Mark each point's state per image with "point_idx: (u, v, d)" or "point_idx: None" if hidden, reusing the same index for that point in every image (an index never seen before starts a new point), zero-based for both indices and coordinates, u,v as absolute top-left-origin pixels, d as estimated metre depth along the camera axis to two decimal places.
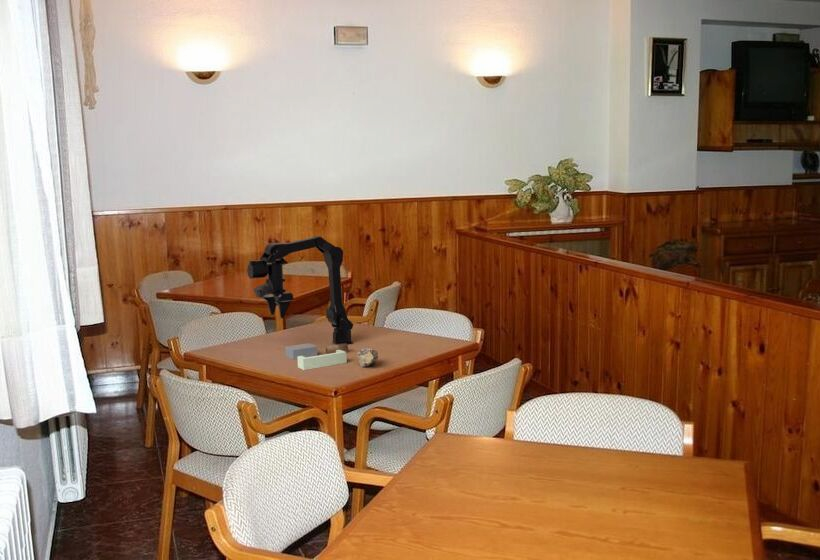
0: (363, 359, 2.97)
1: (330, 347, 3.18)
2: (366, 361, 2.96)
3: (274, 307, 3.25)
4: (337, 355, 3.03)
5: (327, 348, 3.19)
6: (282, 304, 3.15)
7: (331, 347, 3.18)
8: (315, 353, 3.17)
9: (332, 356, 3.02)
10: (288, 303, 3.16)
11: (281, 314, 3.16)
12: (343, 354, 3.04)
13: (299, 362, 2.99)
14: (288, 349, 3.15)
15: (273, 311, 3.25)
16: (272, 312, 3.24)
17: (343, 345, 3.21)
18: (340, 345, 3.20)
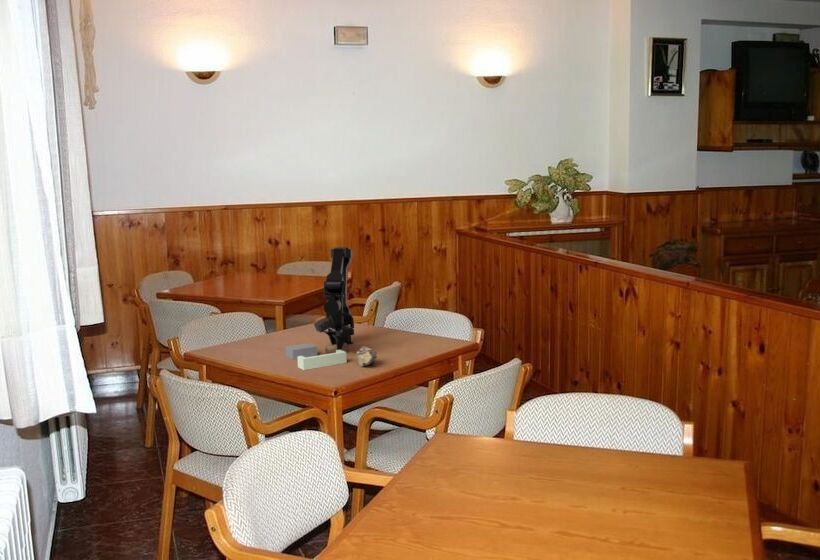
0: (362, 359, 2.97)
1: (330, 347, 3.18)
2: (364, 361, 2.96)
3: (335, 342, 3.22)
4: (337, 355, 3.03)
5: (327, 348, 3.19)
6: (339, 337, 3.17)
7: (331, 347, 3.18)
8: (315, 353, 3.17)
9: (332, 356, 3.02)
10: (345, 336, 3.18)
11: (338, 347, 3.18)
12: (343, 354, 3.04)
13: (299, 362, 2.99)
14: (288, 349, 3.15)
15: None
16: None
17: (343, 345, 3.21)
18: None
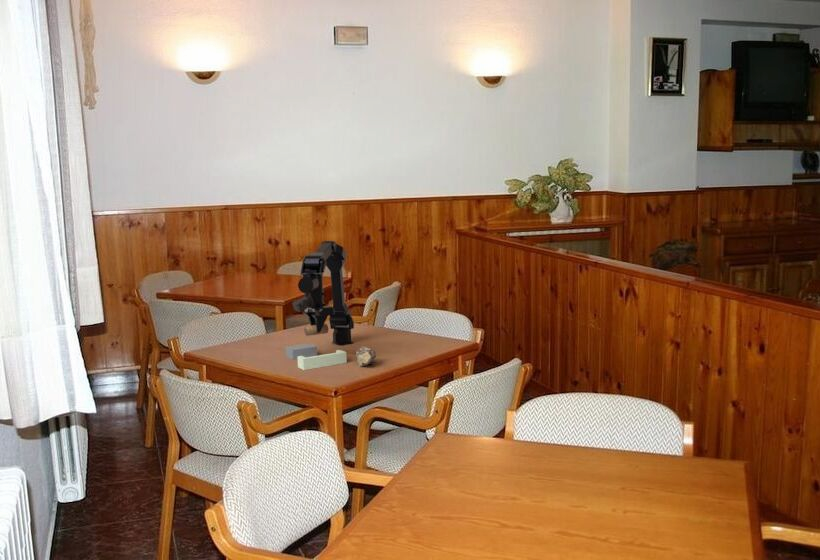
0: (361, 359, 2.97)
1: (309, 327, 3.02)
2: (363, 361, 2.96)
3: (315, 323, 3.07)
4: (337, 355, 3.03)
5: (306, 328, 3.03)
6: (319, 318, 3.02)
7: (310, 327, 3.02)
8: (315, 353, 3.16)
9: (332, 356, 3.02)
10: (325, 317, 3.02)
11: (318, 328, 3.03)
12: (343, 354, 3.04)
13: (299, 362, 2.99)
14: (288, 349, 3.15)
15: None
16: None
17: (323, 326, 3.05)
18: None
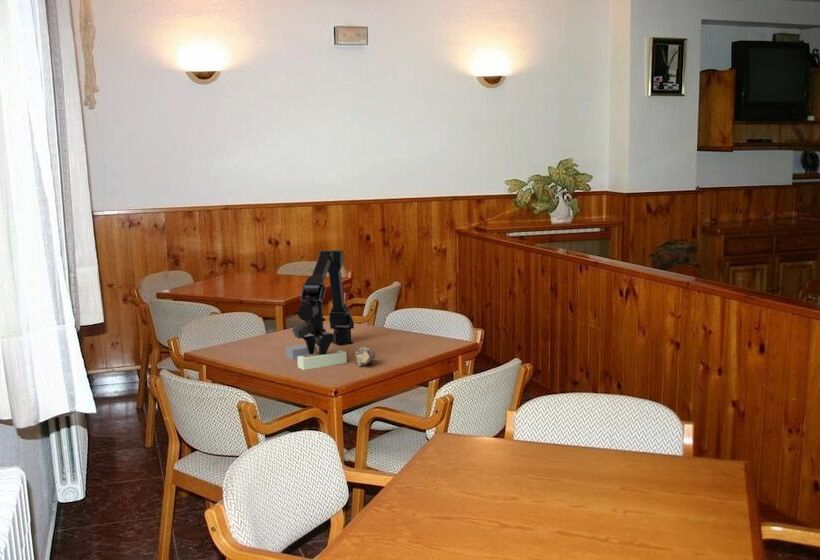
0: (359, 358, 2.98)
1: (309, 355, 3.04)
2: (362, 360, 2.97)
3: (312, 347, 3.10)
4: (337, 355, 3.03)
5: None
6: (322, 345, 3.01)
7: (310, 355, 3.04)
8: (315, 353, 3.16)
9: (332, 356, 3.02)
10: (328, 344, 3.01)
11: None
12: (343, 354, 3.04)
13: (299, 362, 2.99)
14: (288, 349, 3.15)
15: (312, 351, 3.10)
16: (311, 352, 3.10)
17: None
18: None
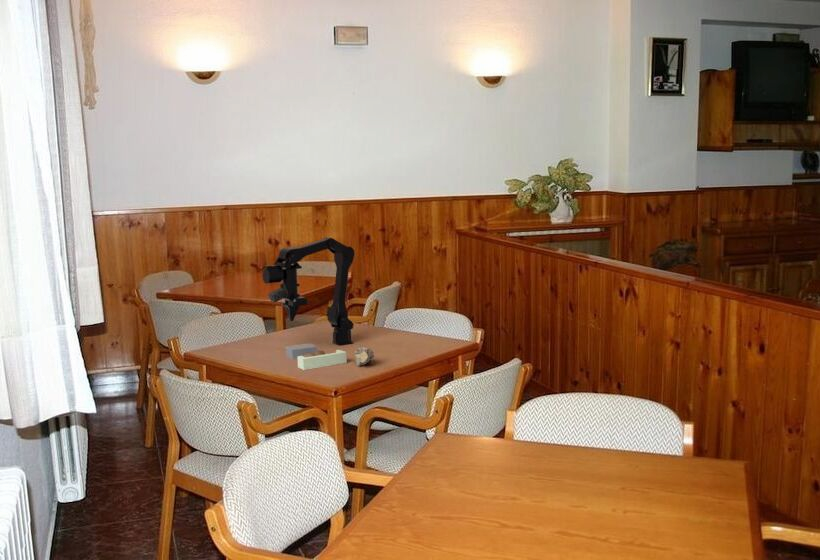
0: (358, 358, 2.98)
1: None
2: (361, 360, 2.97)
3: None
4: (337, 355, 3.03)
5: None
6: (292, 307, 3.20)
7: None
8: None
9: (332, 356, 3.02)
10: (297, 306, 3.21)
11: (291, 317, 3.21)
12: (343, 354, 3.04)
13: (299, 362, 2.99)
14: (288, 349, 3.15)
15: None
16: None
17: None
18: None
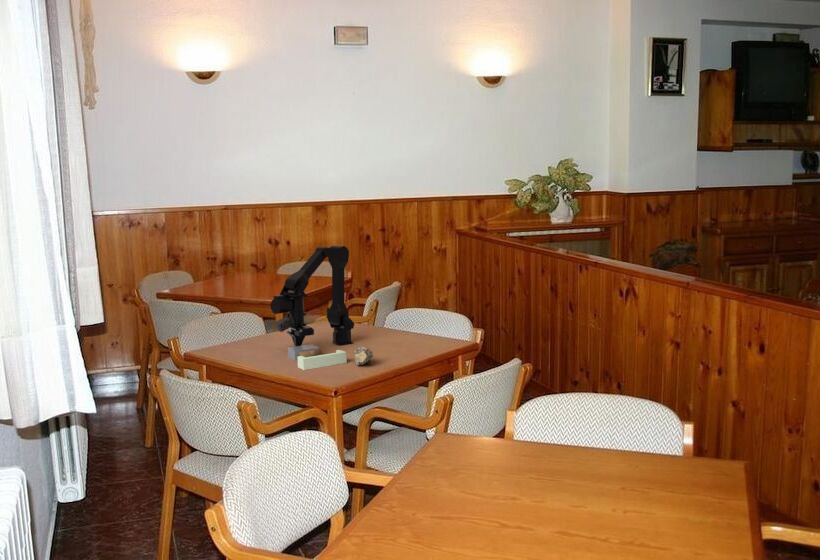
0: (357, 358, 2.99)
1: None
2: (360, 360, 2.97)
3: None
4: (337, 355, 3.03)
5: None
6: (298, 336, 3.18)
7: None
8: None
9: (332, 356, 3.02)
10: (304, 335, 3.18)
11: None
12: (343, 354, 3.04)
13: (299, 362, 2.99)
14: (290, 350, 3.14)
15: None
16: None
17: None
18: None
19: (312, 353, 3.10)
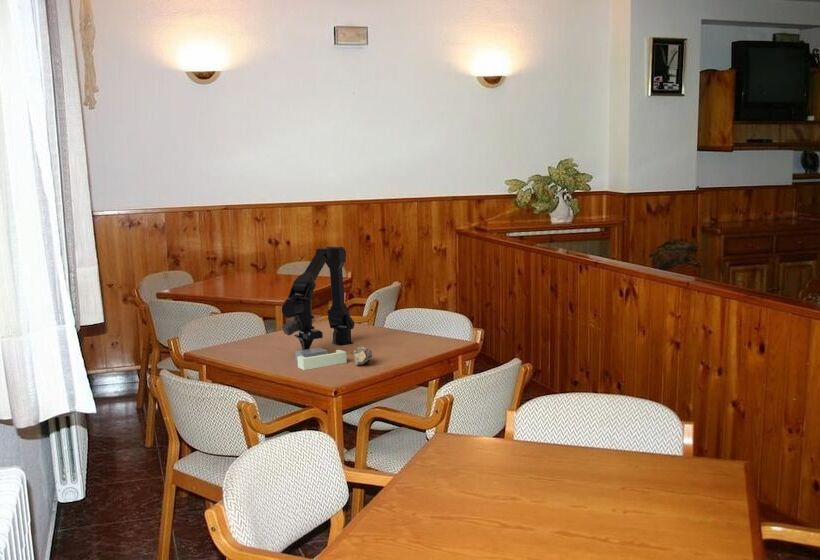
0: (356, 358, 2.99)
1: None
2: (359, 360, 2.98)
3: None
4: (337, 355, 3.03)
5: None
6: (306, 340, 3.12)
7: None
8: None
9: (332, 356, 3.02)
10: (312, 339, 3.13)
11: None
12: (343, 354, 3.04)
13: (299, 362, 2.99)
14: (298, 353, 3.08)
15: None
16: None
17: None
18: None
19: None
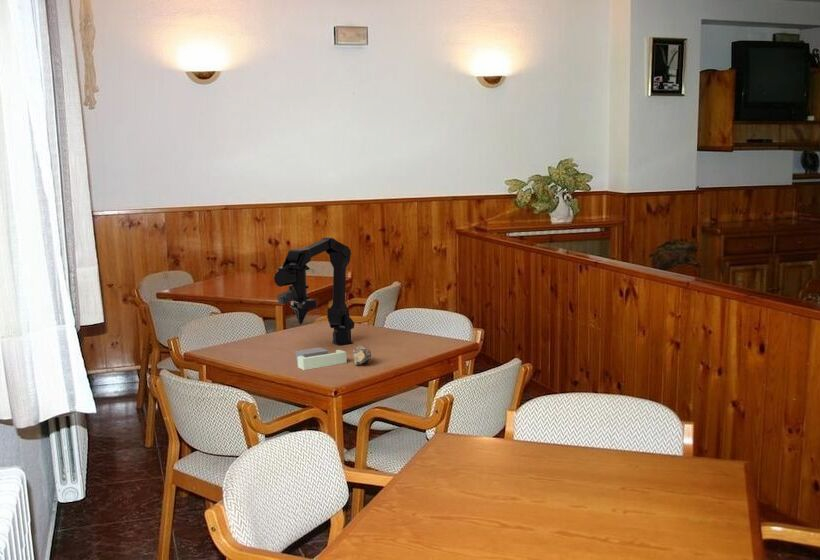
0: (355, 357, 2.99)
1: None
2: (358, 359, 2.98)
3: None
4: (337, 355, 3.03)
5: None
6: (300, 310, 3.14)
7: None
8: None
9: (332, 356, 3.02)
10: (306, 309, 3.14)
11: (299, 320, 3.15)
12: (343, 354, 3.04)
13: (299, 362, 2.99)
14: (298, 353, 3.08)
15: None
16: None
17: None
18: None
19: None
